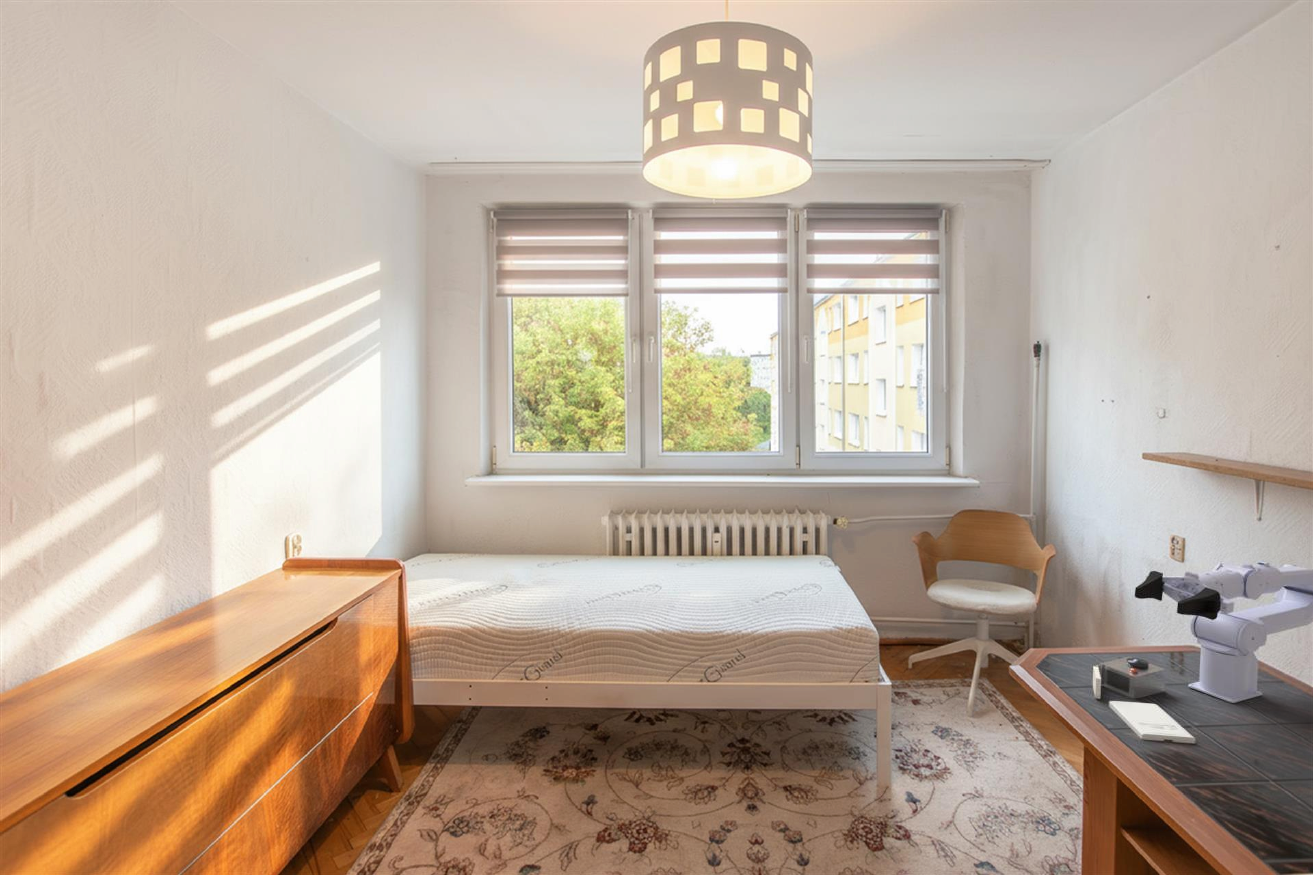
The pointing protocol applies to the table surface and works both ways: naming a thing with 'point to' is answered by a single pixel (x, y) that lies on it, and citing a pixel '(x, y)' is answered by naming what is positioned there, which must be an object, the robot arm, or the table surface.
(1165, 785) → the table surface
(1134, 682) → the camera body
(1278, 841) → the table surface
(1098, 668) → the side door
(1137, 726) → the external hard drive
